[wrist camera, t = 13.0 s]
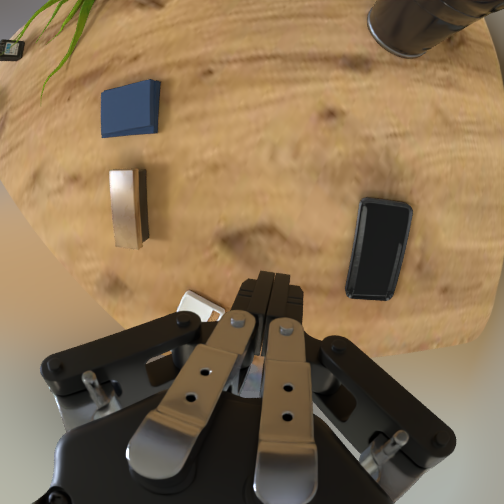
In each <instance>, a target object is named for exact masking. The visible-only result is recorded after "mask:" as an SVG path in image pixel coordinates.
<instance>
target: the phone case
mask: <svg viewBox="0 0 504 504" xmlns="http://www.w3.org/2000/svg"><path fill="white" fill-rule="evenodd" d="M213 310H214V311H216V312H218V313H220V314H221V315H220V316H219V318H218V320H217V321H219V320H220V319H221V317H222V316H223V314H225V310H224V309H223V308H221V307H220V306H218V305H216V304H214V303H212V302H210V301H208V300H206V299H205V298H203V297H201V296H199V295H197V294H195V293H194V292H192V291H190V290H188V291H187V292H186V293H185V294H184V296H183V298H182V300H181V302H180V305H179V307H178V310H177V312H178V311H191V312H194V313H196V314H197V315H199V317H200V318H201V322H207V320H208V319H209V317H210V315H211V313H212V311H213ZM170 351H171V350H170Z"/></svg>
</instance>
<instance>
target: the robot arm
mask: <svg viewBox="0 0 504 504" xmlns="http://www.w3.org/2000/svg"><path fill="white" fill-rule="evenodd" d="M502 9H504V0H377V1H376V2H375V4H374V6H373V7H372V8H371V10H370V12H369V14H368V17H367V25H368V29H369V31H370V33H371V35H372V36H373V38H374V39H375V40H376V42H377V43H378V44H379V45H380V46H382V47H383V48H384V49H385V50H387V51H388V52H390V53H392V54H394V55H396V56H399V57H403V58H417V57H419V56H421V55H423V54H424V53H426V52H427V50H429V49H431V48H432V47H433V48H434V46H436V45H437V44H439V43H440V42H442V41H444V40H445V39H447V38H449V37H450V36H452V35H453V34H455V33H457V32H459V31H460V30H462V29H464V28H465V27H467V26H469V25H470V24H472V23H474V22H476V21H478V20H479V19H481V18H483V17H485V16H487V15H489V14H490V13H493V12H497V11H500V10H502ZM274 277H275V280H274ZM289 283H290V275H288V274H281V273H276V275H275V273H274V272H267V271H260V273H259V276H258V279H257V280H255V279H247V280H246V281H244V282H243V283H242V285H241V287H240V290H239V292H238V294H237V296H236V299H235V301H234V303H233V306H232V308H231V310H230V311H228V312H226V313H225V314H223V316H222V317H221V319H220V320H219V321H213V322H201V318H200V317H199V315H197V314H196V313H194V312H191V311H178V312H175V313H172V314H169V315H166V316H164V317H161V318H158V319H155V320H152V321H150V322H147V323H144V324H141V325H138V326H136V327H133V328H130V329H127V330H124V331H121V332H119V333H115V334H113V335H110V336H107V337H104V338H101V339H98V340H95V341H92V342H89V343H86V344H83V345H80V346H77V347H74V348H71V349H68V350H65V351H61V352H58V353H55V354H52V355H50V356H48V357H47V358H46V359H44V361H43V362H42V364H41V367H40V372H41V375H42V376H43V378H44V380H45V381H46V383H47V385H48V386H49V389H50V391H51V392H52V394H53V395H54V397H55V398H56V401H57V404H58V408H59V411H60V414H61V418H62V420H63V424H64V427H65V429H66V433H65V434H64V435H63V436H62V438H60V440H59V442H58V443H57V446H56V448H55V454H54V473H53V479H52V483H51V486H50V488H49V490H48V491H47V492H46V493H45V494H44V495H43V496H42V497H41V498H39V499H38V500H37V501H35V502H33V503H32V504H394V503H395V502H396V501H397V500H398V499H399V498H400V497H402V496H403V495H404V493H406V492H407V491H408V490H409V489H410V488H411V487H412V486H413V485H414V484H415V483H416V482H417V481H418V480H419V478H420V477H421V476H422V475H423V474H425V473H426V472H428V471H429V470H430V469H432V468H433V467H434V466H436V465H437V464H438V463H440V462H441V461H442V460H444V459H445V458H446V457H447V456H449V455H450V454H451V453H452V452H453V451H454V449H455V446H456V436H455V434H454V432H453V430H452V429H451V428H450V427H449V426H447V425H446V424H445V423H444V422H443V421H442V420H440V419H439V418H438V417H437V416H436V415H435V414H434V413H432V412H431V411H430V410H429V409H428V408H427V407H426V406H424V405H423V404H422V403H421V402H420V401H419V400H417V399H416V398H415V397H414V396H413V395H412V394H411V393H409V392H408V391H407V390H406V389H405V388H404V387H403V386H401V385H400V384H399V383H398V382H397V381H396V380H395V379H393V378H392V377H391V376H390V375H389V374H388V373H387V372H385V371H384V370H383V369H382V368H381V367H380V366H378V365H377V364H376V363H375V362H374V361H373V360H372V359H371V358H369V357H368V356H367V355H366V354H365V353H364V352H363V351H361V350H360V349H359V348H358V347H357V346H356V345H354V344H353V343H352V342H351V341H350V340H348V339H347V338H345V337H342V336H336V335H334V336H328V337H326V338H324V339H323V340H322V341H321V340H318V339H315V338H313V337H311V336H309V335H308V334H307V333H306V332H305V331H304V328H303V326H302V317H303V293H304V292H303V291H302V289H301V288H300V286H295V285H289ZM262 342H263V345H262ZM261 347H262V352H261V356H264V363H263V370H262V378H261V387H260V397H259V398H243V397H240V394H241V392H242V389H243V387H244V384H245V381H246V379H247V376H248V373H249V371H250V367H251V363H252V361H253V358H254V355H257V356H259V355H260V351H261ZM170 350H171V351H172V354H170V355H167V356H165V357H163V358H160V359H158V360H156V361H153V362H150V363H148V364H146V363H147V361H148V360H149V359H151V358H152V357H156V356H158V355H160V354H163V353H165V352H168V351H170ZM312 401H313V402H314V403H315V404H316V405H317V407H318V408H319V409H320V410H321V411H322V412H323V413H324V414H325V416H326V417H327V418H328V419H329V420H330V421H331V422H332V423H333V424H334V426H335V427H336V428H337V429H338V430H339V431H340V432H341V433H342V434H343V435H344V437H345V438H346V439H347V440H348V441H349V442H350V443H351V444H352V445H353V446H354V447H355V449H356V450H357V451H358V452H359V453H360V454H361V455H360V459H359V461H358V460H357V459H356V458H355V457H354V456H353V455H352V453H351V452H350V451H349V450H348V449H347V448H346V446H345V445H344V444H343V443H342V442H341V440H340V439H339V438H338V437H337V436H336V434H335V433H334V432H333V431H332V430H331V428H330V427H329V426H328V425H327V424H326V423H325V422H324V421H323V420H322V419H321V418H319V417H318V416H316V415H315V414H313V402H312Z"/></svg>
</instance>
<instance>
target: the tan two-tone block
mask: <svg viewBox="0 0 504 504" xmlns="http://www.w3.org/2000/svg"><path fill="white" fill-rule="evenodd" d="M109 174H110V194H111V207H112V219H113V228H114V237H115V245H116V247H120V248H126V249H133V250H139V249H140V248H142V247H143V244H142V243H143V242H144V241H146V240H147V239H148V238H149V229H148V213H147V189H146V170H138V168H135V169H113V170H110V171H109Z"/></svg>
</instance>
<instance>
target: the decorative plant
mask: <svg viewBox="0 0 504 504" xmlns="http://www.w3.org/2000/svg"><path fill="white" fill-rule="evenodd" d="M58 1H60V0H49V1H48V2H47V3H46V4H45V5H44V6H42V7H41V8H40V9H39V10H38V11H36V13H35V14H34V15H33V16H32V17H31V19H30V20H29V21H28V22H27V24H26V25H25V27H24V29H23V31H22V32H21V33H20V34H21V36H20V37H19V38H18V40H19V39H20V38H21V37H22V35H23V33H24V32H25V30H26V29H27V27H28V26H29V24H30V23H31V22H32V20H33V19H34V18H35V17H36V16H37V15H38V14H39V13H40V12H42V11H43V10H45V9H46V8H48V7H49V6H51V5H53V4H54V3H56V2H58ZM67 1H68V0H62V1H61V2H60V3H59V4H58V5H57V7H56V9H55V11H54V13H53V16H52V18H51V19H50V21H49V22H48V24H47V26H48V25H49V23H50V22H51V20H52V19H53V18H54V16H55V15H56V13H57V12H58V10H59V8H60V7H61V5H62V4H64V3H65V2H67ZM94 1H95V0H78V1H77V3H76V4H75V6H74V7H73V9H72V11H71V12H70V14H69V15H68V17H67V19H66V20H65V21H64V23H63V24H62V27H61V30H60V32H61V31H62V29H63V28H64V26H65V25H66V24H67V23H68V22H69V21H70V20H71V19H72V17H73V16H74V14H75V13H76V12H77V10H78V9H79V8H80V6H81V5H82V4H83V5H82V7H81V10H80V14H79V18H78V23H77V28H76V32H75V34H74V37H73V39H72V42H71V45H70V48H69V50H68V53H67V54H66V56H65V57H64V58H63V60H62V61H61V63H60V64H59V66H58V67H57V68H56V69H55V70H54V71H53V72H52V73H51V74H50V75H49V76H48V78H47V80H46V81H45V83H44V85H43V89H42V93H43V90H44V87H45V84H46V82H47V81H48V80H49V78H50V77H51V76H52V75H53V74H54V73H56V72H57V71H58V70H59V69H60V68H61V67H62V65H63V64H64V63H65V61H66V60H67V59H68V57H69V56H70V55H71V53H72V51H73V49H74V47H75V45H76V43H77V41H78V40H79V38H80V36H81V34H82V31H83V29H84V26H85V23H86V20H87V18H88V15H89V12H90V10H91V8H92V5H93V3H94ZM83 2H84V3H83ZM47 26H46V27H47ZM46 27H45V29H46ZM45 29H44V30H45ZM43 32H44V31H43ZM43 32H42V33H43ZM60 32H59V33H60ZM59 33H58V34H59ZM20 34H19V35H20ZM58 34H57V35H58ZM19 35H18V36H19ZM41 35H42V34H41ZM41 35H40V36H41ZM57 35H56V36H57ZM18 36H17V37H18ZM56 36H55V37H56ZM17 37H16V38H17ZM55 37H54V38H55ZM39 38H40V37H39ZM39 38H38V39H39ZM54 38H53V39H54ZM15 40H16V39H15ZM18 40H17V41H16V42H15V43H14V44H16V43H17V42H18ZM13 41H14V40H13ZM37 41H38V40H37ZM49 42H50V41H49ZM49 42H48V43H49ZM48 43H47V44H48ZM14 44H13V45H14ZM13 45H12V46H13ZM12 46H11V47H12ZM11 47H10V48H11ZM10 48H9V49H10ZM6 51H7V50H6ZM6 51H5V52H6ZM3 53H4V52H3ZM3 53H2V54H3ZM41 97H42V94H41Z"/></svg>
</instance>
